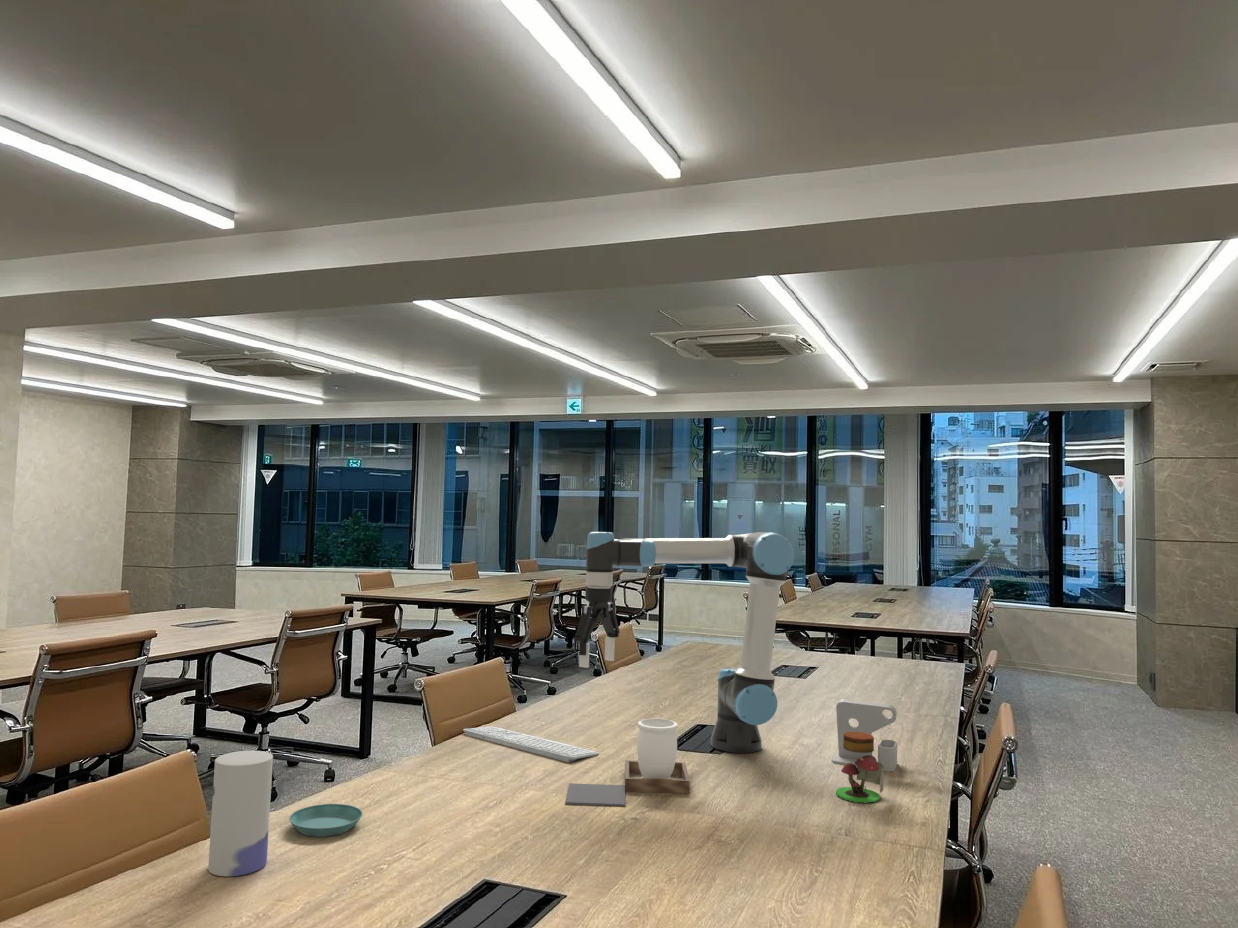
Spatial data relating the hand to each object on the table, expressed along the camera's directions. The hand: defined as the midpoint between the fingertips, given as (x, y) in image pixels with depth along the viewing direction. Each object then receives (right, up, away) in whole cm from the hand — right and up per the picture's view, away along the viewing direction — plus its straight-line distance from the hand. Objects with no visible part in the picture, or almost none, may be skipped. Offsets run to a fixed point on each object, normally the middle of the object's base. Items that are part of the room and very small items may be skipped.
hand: (597, 663), depth 233 cm
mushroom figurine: (+66, -27, -25) cm, 76 cm away
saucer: (-56, -22, -56) cm, 82 cm away
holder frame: (+16, -26, -19) cm, 36 cm away
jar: (+16, -26, -19) cm, 36 cm away
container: (-65, -20, -77) cm, 103 cm away
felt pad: (+1, -25, -30) cm, 39 cm away
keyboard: (-21, -28, +14) cm, 37 cm away
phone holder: (+76, -30, +5) cm, 82 cm away
